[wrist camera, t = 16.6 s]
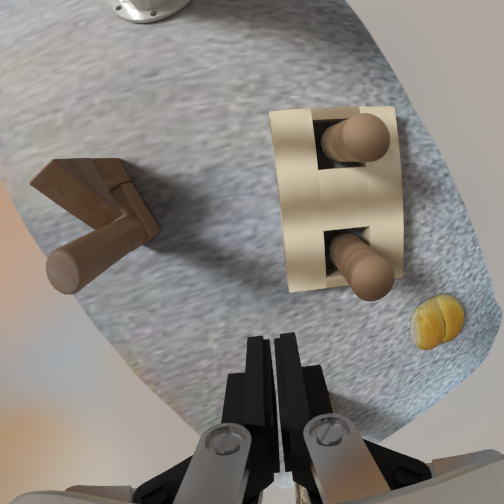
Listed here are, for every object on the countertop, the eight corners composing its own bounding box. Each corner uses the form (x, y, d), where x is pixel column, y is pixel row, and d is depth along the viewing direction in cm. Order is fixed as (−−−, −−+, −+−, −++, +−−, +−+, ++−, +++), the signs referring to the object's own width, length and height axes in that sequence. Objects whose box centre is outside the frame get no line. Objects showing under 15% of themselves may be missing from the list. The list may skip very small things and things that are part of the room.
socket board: (269, 115, 34) (269, 111, 31) (384, 110, 33) (394, 106, 30) (287, 282, 39) (289, 292, 36) (393, 269, 38) (402, 277, 35)
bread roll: (457, 330, 41) (469, 343, 37) (409, 349, 42) (419, 363, 38) (458, 284, 39) (473, 294, 35) (407, 301, 40) (419, 314, 36)
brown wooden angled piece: (119, 156, 35) (24, 159, 18) (162, 230, 38) (92, 285, 20) (97, 173, 36) (-1, 188, 18) (139, 245, 38) (62, 305, 21)
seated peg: (313, 128, 34) (339, 112, 22) (348, 126, 34) (387, 111, 22) (318, 163, 35) (345, 164, 23) (352, 161, 35) (393, 162, 23)
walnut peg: (323, 229, 37) (350, 259, 25) (356, 226, 37) (396, 253, 25) (325, 263, 38) (351, 305, 27) (357, 259, 38) (394, 298, 26)
